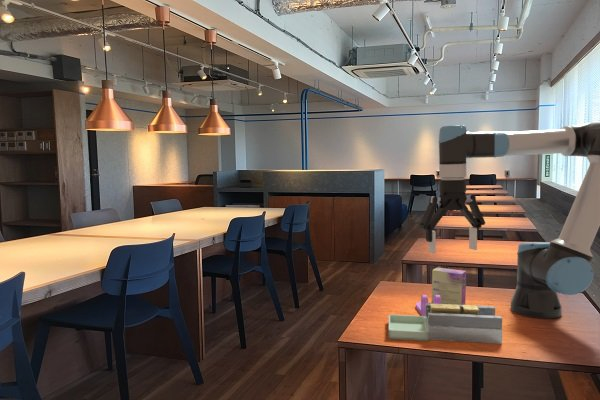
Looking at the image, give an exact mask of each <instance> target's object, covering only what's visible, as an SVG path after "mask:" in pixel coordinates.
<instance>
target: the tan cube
mask: <svg viewBox="0 0 600 400" xmlns="http://www.w3.org/2000/svg"><path fill="white" fill-rule="evenodd" d="M444 305H445V308H446V313H447V314H460V307H459V305H450V304H444Z"/></svg>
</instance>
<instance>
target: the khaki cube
mask: <svg viewBox="0 0 600 400" xmlns="http://www.w3.org/2000/svg"><path fill="white" fill-rule="evenodd" d="M430 313H446V308H445V305H444V304H434V303H432V304H430Z"/></svg>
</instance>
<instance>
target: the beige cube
mask: <svg viewBox="0 0 600 400" xmlns="http://www.w3.org/2000/svg"><path fill="white" fill-rule="evenodd" d="M477 306H478V305H477ZM477 306H474V305H473V304H472V305H471V304H464V305H462V314H468V315H479V309H478V307H477Z"/></svg>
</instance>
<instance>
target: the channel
mask: <svg viewBox="0 0 600 400" xmlns="http://www.w3.org/2000/svg"><path fill="white" fill-rule="evenodd" d="M431 303H432V302H429V303H426V322H427V326H428V331H429V341H445V342H463V343H476V344H478V343H479V344H494V345H495V344H498V345H500V344H501V345H502V344H503V317H502V316H501V315H496V307H495V306H494V305H474V306H477V307H478V309H479V315H468V314H462V305H459V307H460V314H447V313H430V304H431ZM450 305H454V304H450Z"/></svg>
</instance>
